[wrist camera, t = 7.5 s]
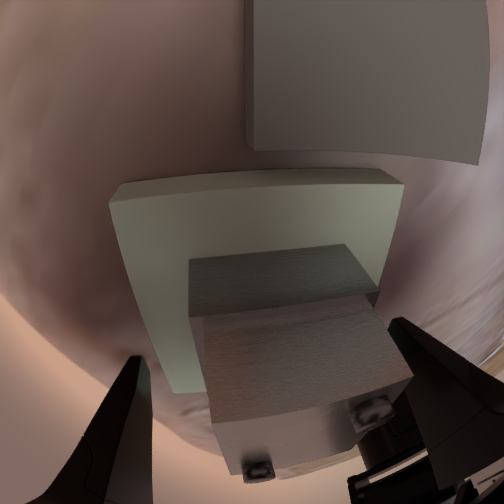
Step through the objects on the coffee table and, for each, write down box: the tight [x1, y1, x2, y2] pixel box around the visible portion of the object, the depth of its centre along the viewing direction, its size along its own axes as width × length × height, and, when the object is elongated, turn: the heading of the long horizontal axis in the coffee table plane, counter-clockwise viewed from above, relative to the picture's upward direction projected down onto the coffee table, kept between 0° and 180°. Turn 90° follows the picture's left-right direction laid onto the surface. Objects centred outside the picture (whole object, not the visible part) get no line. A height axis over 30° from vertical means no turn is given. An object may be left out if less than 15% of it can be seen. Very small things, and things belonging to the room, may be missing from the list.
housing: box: [188, 244, 414, 483], centre depth 8 cm, size 5×6×6 cm
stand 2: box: [108, 168, 405, 394], centre depth 11 cm, size 10×9×2 cm
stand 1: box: [244, 0, 490, 165], centre depth 6 cm, size 10×9×2 cm
